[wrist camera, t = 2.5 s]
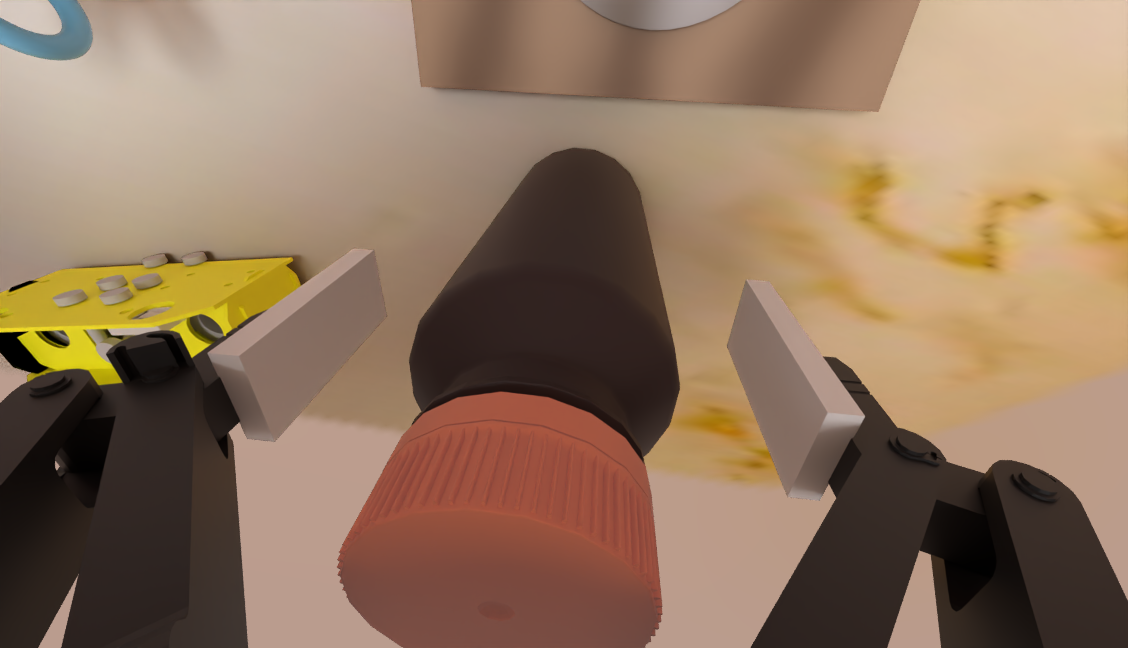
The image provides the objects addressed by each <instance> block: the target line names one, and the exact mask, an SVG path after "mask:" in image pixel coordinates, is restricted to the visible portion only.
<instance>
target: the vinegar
mask: <svg viewBox="0 0 1128 648" xmlns="http://www.w3.org/2000/svg"><path fill="white" fill-rule="evenodd" d="M409 364H410V372H411V379H412V386H413V394H414V397H415V400H416V402H417V403H418V405H419V407H420V409H421V411H422V412H421V413H420V414H419V415H418V416H417V417H416V418H415V419H414V421H413V423H412V426H411V427H410V428H409V429H408V430H407V431H406V432H405V433H404V434H403V436H402V437H401V439H400V441H399V442H398V444H397V446H396V448H395V450H394V452H393V453H392V455H391V457H390V459H389V461H388V462H387V465H386V466H385V468H384V470H383V472H382V474H381V476H380V478H379V480H378V481H377V483H376V485H375V487H374V489H373V490H372V492H371V494H370V496H369V498H368V500H367V501H366V503H365V505H364V507H363V508H362V510H361V512H360V514H359V516H358V517H357V519H356V521H355V523H354V525H353V527H352V528H351V530H350V532H349V534H348V536H347V537H346V539H345V541H344V543H343V546H342V548H341V550H340V551H339V553H341V554H340V556H339V558H338V561H340V562H339V564H338V566H337V568H339V569H340V571H339V573H338V576H340V577H341V580H340V583H342V584H343V585H344V587H343V590H344V591H346V594H347V598H348V600H349V602H350V603H351V604H352V605H353V607H354V608H355V609H356V610H357V611H358V612H359V613H360V614H361V616H362V617H363V618H364V619H365V620H366V621H367V622H368V623H369V624H370V626H372V627H373V628H375V629H376V630H378V631H379V632H380V633H382V634H384V635H385V636H386V637H388V638H389V639H391V640H392V641H394V642H395V643H397V644H398V645H400V646H401V647H403V648H645V645H646V644H647V643H648V642H651V636H655V629H659V624H658V623H659V622H661V615H662V599H661V588H660V578H659V567H658V557H657V547H656V536H655V526H654V516H653V506H652V495H651V490H650V485H649V481H648V476H647V471H646V466H645V463H644V458H643V457H644V456H645V455H646V454H648V453H649V452H650V450H651V449H652V448H653V446H654V445H655V444H656V442H657V441H658V440H659V438H660V437H661V436H662V435H663V433H664V432H665V431H666V429H667V428H668V427H669V425H670V422H671V419H672V415H673V412H674V408H675V405H676V401H677V397H678V394H679V390H680V382H679V375H678V368H677V361H676V353H675V347H674V343H673V338H672V334H671V329H670V325H669V320H668V316H667V312H666V307H665V303H664V298H663V294H662V290H661V285H660V281H659V276H658V272H657V267H656V263H655V259H654V254H653V250H652V245H651V241H650V236H649V232H648V228H647V223H646V219H645V214H644V210H643V206H642V201H641V197H640V192H639V190H638V188H637V187H636V185H635V183H634V181H633V179H632V177H631V175H630V173H628V172H627V171H626V170H625V169H624V168H623V167H622V166H621V165H620V164H619V163H618V162H617V161H616V160H615V159H613V158H611V157H609V156H606V155H604V154H602V153H600V152H598V151H596V150H587V149H577V148H572V149H568V150H564V151H560V152H556V153H552V154H551V155H549V156H548V157H546V158H544V159H543V160H541V161H540V162H538V163H537V164H535V165H534V167H533V168H532V169H531V170H530V172H529V173H528V174H527V176H526V177H525V178H524V179H523V181H522V182H521V183H520V185H519V186H518V187H517V189H516V190H515V192H514V193H513V194H512V196H511V197H510V198H509V200H508V201H507V202H506V204H505V205H504V207H503V208H502V209H501V211H500V212H499V213H498V215H497V216H496V217H495V219H494V220H493V222H492V223H491V224H490V226H489V227H488V228H487V230H486V231H485V233H484V234H483V235H482V237H481V238H480V239H479V241H478V242H477V243H476V245H475V246H474V248H473V249H472V250H471V252H470V253H469V254H468V256H467V257H466V258H465V260H464V261H463V263H462V264H461V265H460V267H459V268H458V269H457V271H456V272H455V273H454V275H453V276H452V278H451V279H450V280H449V282H448V283H447V284H446V286H445V287H444V289H443V290H442V291H441V293H440V294H439V295H438V297H437V298H436V299H435V301H434V302H433V304H432V305H431V306H430V308H429V309H428V310H427V312H426V313H425V314H424V316H423V317H422V319H421V320H420V322H419V324H418V328H417V332H416V335H415V339H414V343H413V346H412V350H411V354H410V358H409Z"/></svg>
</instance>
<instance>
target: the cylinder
mask: <svg viewBox="0 0 1128 648" xmlns="http://www.w3.org/2000/svg"><path fill="white" fill-rule="evenodd" d="M48 1H49V2H50V3H51V4H52V6H53V7H54V8H55V10H56V11H57V13H58V15H59V17H60V19H61V22H62V29H61V31H60V32H59V33H58V34H55V35H43V34H38V33H34V32H31V31H28V30H25V29H23V28H20V27H18V26H16V25H13V24H11V23H9V22H7V21H5V20H4V19H2V18H0V44H2V45H4V46H6V47H8V48H11V49H13V50H16V51H18V52H21V53H24V54H27V55H31V56H34V57H38V58H43V59H49V60H71V59H75V58H78V57H80V56H82V55H84V54H85V53H86V52H87V51H88V50H89V49H90V47H91V44H92V39H93V35H92V29H91V25H90V22H89V20H88V18H87V16H86V14H85V12H84V10H83V9H82V7H81V6H80V4H79V3H78V1H77V0H48Z"/></svg>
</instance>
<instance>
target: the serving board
mask: <svg viewBox="0 0 1128 648" xmlns="http://www.w3.org/2000/svg"><path fill="white" fill-rule="evenodd" d="M411 3H412V11H413V20H414V29H415V38H416V47H417V56H418V65H419V74H420V83H421V87H438V88H456V89H474V90H492V91H510V92H529V93H547V94H565V95H583V96H601V97H619V98H637V99H655V100H674V101H692V102H710V103H728V104H746V105H764V106H782V107H800V108H819V109H837V110H855V111H873V112H878V111H879V109H880V106H881V103H882V101H883V98H884V95H885V93H886V90H887V87H888V85H889V82H890V80H891V77H892V74H893V72H894V69H895V66H896V64H897V61H898V58H899V56H900V53H901V50H902V48H903V45H904V42H905V40H906V37H907V35H908V32H909V29H910V27H911V24H912V21H913V19H914V16H915V13H916V11H917V8H918V5H919V3H920V0H411Z"/></svg>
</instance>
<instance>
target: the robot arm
mask: <svg viewBox="0 0 1128 648" xmlns="http://www.w3.org/2000/svg"><path fill="white" fill-rule="evenodd" d="M386 317H387V314H386V309H385V304H384V298H383V293H382V288H381V283H380V278H379V273H378V267H377V262H376V257H375V252H374V250H369V249H357V248H353V249H352V250H350V251H349V252H348V253H346V254H345V255H343V256H342V257H341V258H339V259H338V260H336V261H335V262H334V263H332V264H331V265H329V266H328V267H327V268H325V269H324V270H322V271H321V272H320V273H318V274H317V275H316V276H314V277H313V278H311V279H310V280H309V281H307V282H306V283H304V284H303V285H302V286H300V287H299V288H297V289H296V290H295V291H293V292H292V293H290V294H289V295H288V296H286V297H285V298H283V299H282V300H281V301H279V302H278V303H276V304H275V305H274V306H272V307H271V308H269V309H267V310H265V311H262V312H260V313H258V314H255V315H253V316H251V317H249V318H248V319H246V320H245V321H244V322H242V323H241V324H239V325H238V326H237V328H234V329H232V330H231V331H229V332H228V333H226V336H222V337H221V338H219V339H218V340H216V341H215V342H214V343H212V344H211V345H209V346H208V347H206V348H205V349H204V350H202V351H201V352H199V353H198V354H197V355H195V356H194V357H191V355H190V353H189V351H188V349H187V347H186V345H185V343H184V341H183V339H182V337H181V335H180V333H178V332H175V331H170V330H159V331H152V332H146V333H143V334H139V335H136V336H132V337H130V338H128V339H125V340H123V341H121V342H119V343H117V344H116V345H114V346H113V347H111V348H110V349H109V350H108V352H107V353H106V356H107V357H108V359H109V361H110V362H111V364H112V366H113V367H114V369H115V371H116V372H117V374H118V375H119V377H120V379H121V380H122V382H123V383H115V384H105V385H98V384H97V382H96V381H95V379H94V378H93V376H92V375H91V373H90V372H89V371H88V370H84V369H66V370H61V371H53V372H49V373H46V375H40V376H37V377H35V378H34V379H33V380H31V381H28V382H26V383H25V384H23V385H21V386H19V387H18V388H17V389H15V390H14V391H12V392H11V393H10V394H9V395H8V396H7V397H6V398H5V399H4V400H3V401H2V402H1V403H0V648H38V647H39V645H40V643H41V641H42V640H43V638H44V636H45V634H46V632H47V630H48V629H49V627H50V625H51V623H52V621H53V620H54V617H55V616H56V614H57V612H58V610H59V609H60V607H61V605H62V603H63V601H64V600H65V598H66V596H67V594H68V592H69V590H70V589H71V587H72V585H73V583H74V581H75V579H76V578H77V576H78V579H77V583H76V588H75V592H74V596H73V600H72V605H71V609H70V613H69V617H68V621H67V626H66V630H65V634H64V639H63V643H62V647H61V648H248V641H247V626H246V613H245V598H244V585H243V571H242V558H241V543H240V529H239V516H238V501H237V489H236V488H237V487H236V473H235V460H234V446H233V441H232V439H231V437H230V435H229V433H228V432H229V431H230V430H231V429H233V427H235V425H237V424H238V423H239V422H240V424H241V427H242V429H243V431H244V433H245V435H246V437H247V439H254V440H263V441H272V442H275V441H276V440H277V438H279V437H280V435H281V434H282V433H283V432H284V431H285V430H286V429H287V428H288V426H289V425H290V424H291V423H292V422H293V421H294V420H295V419H296V418H297V416H298V415H299V414H300V413H301V412H302V411H303V410H304V409H305V407H306V406H307V405H308V404H309V403H310V402H311V401H312V400H313V398H314V397H315V396H316V395H317V394H318V393H319V392H320V391H321V389H322V388H323V387H324V386H325V385H326V384H327V383H328V382H329V381H330V379H331V378H332V377H333V376H334V375H335V374H336V373H337V372H338V370H339V369H340V368H341V367H342V366H343V365H344V364H345V363H346V361H347V360H348V359H349V358H350V357H351V356H352V355H353V354H354V352H355V351H356V350H357V349H358V348H359V347H360V346H361V345H362V343H363V342H364V341H365V340H366V339H367V338H368V337H369V336H370V335H371V333H372V332H373V331H374V330H375V329H376V328H377V327H378V326H379V324H380V323H381V322H382V321H383V320H384V319H385V318H386ZM727 348H728V350H729V353H730V355H731V358H732V360H733V362H734V365H735V367H736V370H737V372H738V375H739V377H740V380H741V382H742V385H743V387H744V390H745V392H746V395H747V397H748V400H749V402H750V405H751V407H752V410H753V412H754V415H755V417H756V420H757V422H758V425H759V427H760V430H761V432H762V435H763V437H764V440H765V442H766V445H767V447H768V450H769V452H770V455H771V457H772V460H773V462H774V465H775V467H776V470H777V472H778V475H779V477H780V480H781V482H782V485H783V487H784V490H785V492H786V495H787V497H791V498H801V499H810V500H820V499H821V497H822V496H823V494H824V492H825V490H826V488H827V486H828V484H829V485H830V487H831V489H832V490H833V492H834V494H835V496H836V500H835V501H834V503H833V505H832V507H831V509H830V510H829V512H828V514H827V515H826V517H825V519H824V521H823V522H822V524H821V526H820V528H819V530H818V531H817V533H816V535H815V536H814V538H813V540H812V542H811V543H810V545H809V547H808V549H807V550H806V552H805V554H804V556H803V557H802V559H801V561H800V563H799V564H798V566H797V568H796V570H795V571H794V573H793V575H792V576H791V578H790V580H789V582H788V584H787V585H786V587H785V589H784V590H783V592H782V594H781V595H780V597H779V599H778V601H777V603H776V604H775V606H774V608H773V609H772V611H771V613H770V615H769V617H768V618H767V620H766V622H765V623H764V625H763V627H762V629H761V630H760V632H759V634H758V636H757V637H756V639H755V641H754V642H753V644H752V646H751V648H887V647H888V643H889V640H890V638H891V635H892V631H893V628H894V625H895V622H896V619H897V616H898V613H899V610H900V607H901V604H902V601H903V598H904V595H905V592H906V589H907V586H908V583H909V580H910V577H911V574H912V571H913V568H914V565H915V562H916V559H917V556H918V553H919V550H920V551H923V552H925V553H928V554H931V560H932V569H933V577H934V587H935V595H936V605H937V614H938V622H939V632H940V641H941V648H1128V600H1127V598H1126V596H1125V594H1124V592H1123V590H1122V588H1121V585H1120V583H1119V581H1118V579H1117V577H1116V575H1115V573H1114V571H1113V569H1112V567H1111V565H1110V562H1109V560H1108V558H1107V556H1106V554H1105V552H1104V550H1103V548H1102V546H1101V544H1100V541H1099V539H1098V537H1097V535H1096V533H1095V531H1094V529H1093V527H1092V525H1091V523H1090V521H1089V518H1088V517H1087V514H1086V512H1085V510H1084V508H1083V506H1082V504H1081V502H1080V501H1079V499H1078V498H1077V497H1076V495H1075V494H1074V493H1073V492H1072V491H1071V490H1070V489H1069V488H1068V487H1066V486H1065V485H1064V484H1063V483H1062V482H1060V481H1059V480H1058V479H1056V478H1055V477H1053V476H1052V475H1049V474H1048V473H1046V472H1044V471H1042V470H1040V469H1037V468H1034V467H1032V466H1030V465H1027V464H1024V463H1020V462H1016V461H1012V460H999V461H997V462H996V463H994V464H993V465H992V466H991V467H990V468H989V470H988V471H987V472H986V473H985V474H984V473H981V472H978V471H975V470H971V469H968V468H965V467H962V466H958V465H955V464H952V463H948V462H946V458H945V457H944V455H943V454H942V453H941V451H940V450H939V449H938V448H937V447H935V446H934V445H933V444H932V443H931V442H930V441H928V440H926V439H925V438H923V437H921V436H919V435H918V434H916V433H913V432H910V431H907V430H905V429H902V428H897V427H896V425H895V424H894V423H893V422H892V420H891V419H890V418H889V416H888V415H887V414H886V413H885V411H884V410H883V409H882V407H881V406H880V405H879V404H878V402H877V401H876V400H875V398H874V397H873V396H872V395H870V392H869V391H868V389H867V388H866V387H865V386H864V384H862V382H861V380H860V379H859V378H858V377H857V375H856V374H855V373H854V371H853V370H852V369H851V368H849V367H848V366H847V365H845V364H844V363H842V362H841V361H840V360H838V359H837V358H834V357H823V356H822V355H821V353H820V352H819V351H818V349H817V348H816V346H815V345H814V344H813V342H812V341H811V339H810V338H809V337H808V335H807V334H806V332H805V331H804V330H803V328H802V327H801V325H800V324H799V323H798V321H797V320H796V318H795V317H794V316H793V314H792V313H791V311H790V310H789V309H788V307H787V306H786V304H785V303H784V301H783V300H782V299H781V297H780V296H779V294H778V293H777V292H776V290H775V289H774V287H773V286H772V285H771V283H770V282H769V281H761V280H748V279H746V281H745V285H744V288H743V292H742V295H741V299H740V302H739V306H738V309H737V313H736V316H735V320H734V323H733V327H732V330H731V334H730V337H729V341H728V344H727ZM55 461H56V462H57V463H58V464H59V466H60V467H59V468H58V470H57V471H56V469H55ZM78 574H79V575H78Z"/></svg>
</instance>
